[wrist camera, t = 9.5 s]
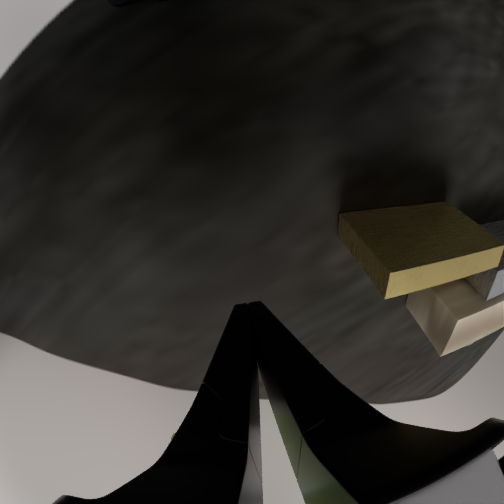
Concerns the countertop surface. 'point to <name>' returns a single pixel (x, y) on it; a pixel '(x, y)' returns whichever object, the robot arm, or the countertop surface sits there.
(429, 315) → the block
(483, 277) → the grey block with shaft
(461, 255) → the block
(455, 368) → the countertop surface
